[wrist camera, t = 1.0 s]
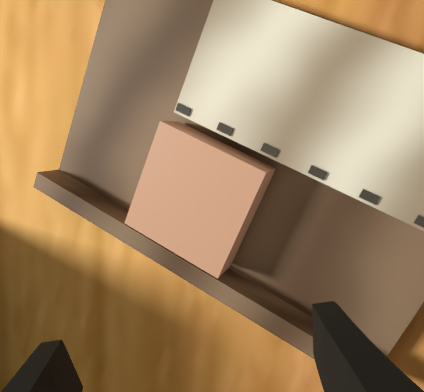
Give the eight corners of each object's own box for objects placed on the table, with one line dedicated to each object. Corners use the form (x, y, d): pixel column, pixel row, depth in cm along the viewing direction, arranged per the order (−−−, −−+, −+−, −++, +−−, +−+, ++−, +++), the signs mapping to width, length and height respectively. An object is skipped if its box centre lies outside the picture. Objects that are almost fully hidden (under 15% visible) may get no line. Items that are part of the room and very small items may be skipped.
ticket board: (548, 102, 16) (582, 97, 14) (371, 368, 21) (371, 402, 18) (130, -47, 22) (98, -69, 20) (64, 186, 27) (32, 192, 24)
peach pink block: (275, 168, 20) (266, 172, 18) (230, 265, 21) (217, 278, 20) (178, 121, 21) (159, 120, 19) (143, 215, 23) (124, 223, 21)
